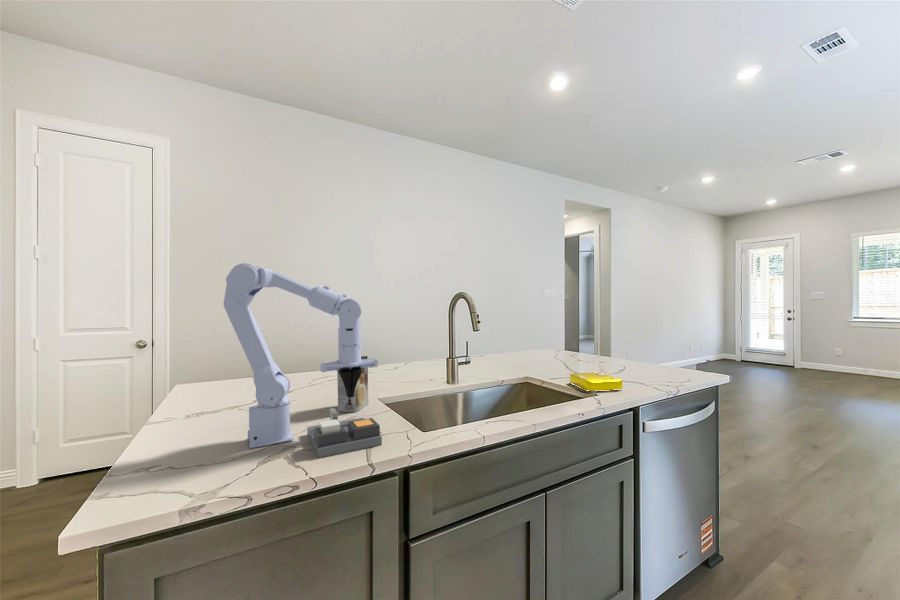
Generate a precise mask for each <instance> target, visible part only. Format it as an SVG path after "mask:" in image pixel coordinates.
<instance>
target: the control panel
mask: <svg viewBox="0 0 900 600" xmlns="http://www.w3.org/2000/svg"><path fill="white" fill-rule="evenodd" d="M367 419H369V420H370V421H371V422H372V423H373V424H374V425H371V426H366V427H360V428H356V427H355V426H354V425H353V422H355V421H361V420H367ZM338 422H339V423H340V431H338V432H333V433H327V434H321V432H320V431H319V424H317V425H310V426H307V427H306V430H307V431H306V432H307V437H308V439H309V441H310V443H311V445H312V448H313V450H314V452H315V455H316V456H317V458H318V459H320V458H321V459H322V458H325V457H329V456H334V455H340V454H344V453H349V452H353V451H354V450H355V451H359V450H363V449H369V448H373V447H379V446H382V445H383V443H382V442H383V440H382V439H383V438H382V435H381V434H380V433H381V431H380V430H381V427H380V426H381V425H380V424H379V423H378V422H377V421H376V420H375V419H374V418H373V417H369V418H365V417H358V418H353V419H346V420H340V421H338Z"/></svg>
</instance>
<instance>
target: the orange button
mask: <svg viewBox="0 0 900 600" xmlns="http://www.w3.org/2000/svg"><path fill="white" fill-rule="evenodd" d="M366 419H367V420H361V421H355V422H353V425H354V426H355V427H356V428H360V427H366V426H371V425H374V424H373V423H372V422H371V421H370V420H369V419H368V418H366Z"/></svg>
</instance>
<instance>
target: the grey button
mask: <svg viewBox="0 0 900 600" xmlns="http://www.w3.org/2000/svg"><path fill="white" fill-rule="evenodd" d="M339 422H340V421H339V420H338V421H337V419H335V420H330V419H329V420H324V421H319V422H318V423H319V424H318V425H319V431H320V432H321V434H327V433H333V432H338V431H340V423H339Z"/></svg>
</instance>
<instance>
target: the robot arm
mask: <svg viewBox="0 0 900 600" xmlns="http://www.w3.org/2000/svg"><path fill="white" fill-rule="evenodd" d="M225 282H226V284H225V285H226V287H225V292H224V298H223V307H224V310H225V313H226V314H227V317H228V318H229V321H230V323H231V326H232V327H233V330H234V332H235V334H236V336H237V338H238V341H239V343H240V345H241V347H242V350H243V351H244V354H245V356H246V359H247V361H248V362H249V365H250V368H251V370H252V372H253V383H254V385H255V386H254V387H255V398H256V401H257V405H253V406H249V407H248V430H247V438H248V439H249V448H250V449H253V448H258V447H259V448H260V447H265V446H270V445H275V444H281V443H287V442H292V441H293V440H294V438H293V434H292V432H291V425H290V424H291V423H290V422H291V420H290V419H291V417H290V415H291V413H290V411H291V410H290V398H289V397H288V395H287V394H288V392H289V391H290V388H291V381H290V379H289V378H288V376H287V375H285V374H284V373H283V372H282V369H280V367H279V366H278V365H277V363H275V360H274V359H273V357H272V354H271V352H270V350H269V347H268V346H267V343H266V341H265V338H264V336H263V334H262V332H261V329H260V327H259V325H258V323H257V320H256V318H255V316H254V313H253V311H252V309H251V307H250V305H251V303H252V302H253V299H254V298H255V296H256V295H257V294H258V293H259V292H260V291H261V290H262V289H263V288H278V289H281V290H284V291H286V292H289V293H292V294H294V295H296V296H300V297H301V298H304V299H306V300H307V302H308V303H309V306H310V307H311V308H315V309H317V310H319V311H322V312H323V313H325V314H326V313H327V314H328V315H332V316H335V315H337V317H338V318H339V319H338V322H339V323H338V325H339V326H338V329H337V330H338V331H337V332H338V333H337V334H338V335H337V337H338V339H337V340H338V341H337V343H338V346H337V347H338V353H337V354H338V360H339V361H337V360H336V361H331V362H324V363H322V362H321V363H320V364H319V365H320V372H321V373H326V372H332V371H337V370H338V372H339V374H340V376H341V378H342V380H343V383H344V386H345V389H346V395H347V397H348V398H350V397H354V392H355V388H356V384H357V382H358V379H359V377H360V375H361V373H362V370H361V368H365V367H368V368H378V367H379V365H378V359H377V358H367V359H361V356H362V337H361V336H362V329H361V328H362V327H361V319H360V317H361V315H362V310H361V306H360V304H359V303H358V301H357V300H354V299H353V298H347V297H348V295H347V294H345V293H344V294H340V293H337V292H335V291H334V290H331V288H330V287H329V286H327V285H324V286H322V285H317V286H314V287H311V286H309V285H307V284H305V283H302V282H300V281H298V280H296V279H294V278H291V277H289V276H286V274H285V275H284V274H283V273H281V272H278V271H274V270H271V269H268V268H263V267H260V266H257V265H252V264H250V263H247V262H246V263H245V262H243V263H238V264H236V265H235V266H234V267H233V268H231V270H230V271H229V273H228V274H227V276H226V278H225Z"/></svg>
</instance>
